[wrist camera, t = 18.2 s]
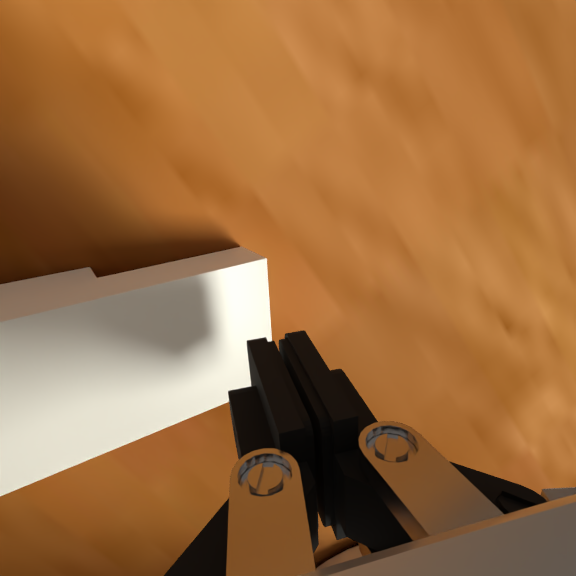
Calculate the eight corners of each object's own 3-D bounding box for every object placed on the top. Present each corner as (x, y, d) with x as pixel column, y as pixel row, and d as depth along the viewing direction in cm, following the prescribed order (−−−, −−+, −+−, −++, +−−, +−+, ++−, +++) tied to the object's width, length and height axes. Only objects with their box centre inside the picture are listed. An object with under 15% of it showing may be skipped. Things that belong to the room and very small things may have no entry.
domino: (266, 258, 14) (-124, 352, 9) (274, 382, 16) (-46, 515, 11) (241, 246, 16) (-109, 322, 11) (251, 362, 18) (-43, 472, 13)
